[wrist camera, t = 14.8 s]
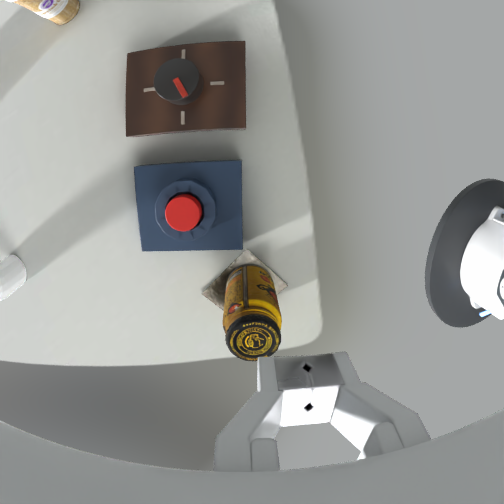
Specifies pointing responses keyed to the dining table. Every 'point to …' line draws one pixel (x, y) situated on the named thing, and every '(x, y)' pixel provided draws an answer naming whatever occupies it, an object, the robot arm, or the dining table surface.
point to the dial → (178, 81)
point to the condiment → (249, 307)
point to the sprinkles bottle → (52, 9)
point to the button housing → (205, 191)
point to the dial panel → (199, 111)
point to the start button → (183, 212)
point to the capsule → (11, 275)
